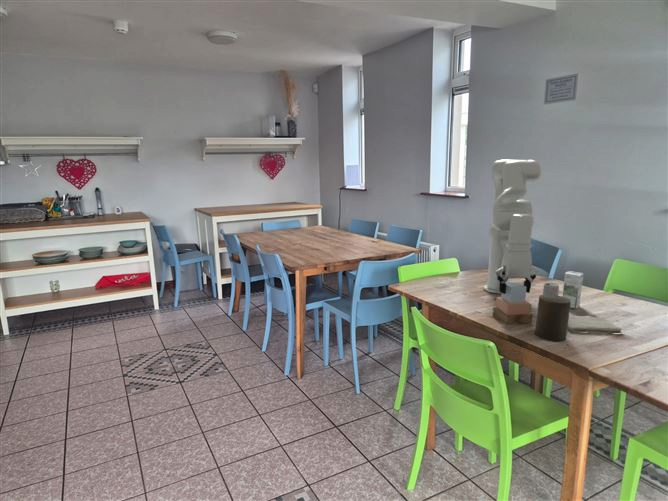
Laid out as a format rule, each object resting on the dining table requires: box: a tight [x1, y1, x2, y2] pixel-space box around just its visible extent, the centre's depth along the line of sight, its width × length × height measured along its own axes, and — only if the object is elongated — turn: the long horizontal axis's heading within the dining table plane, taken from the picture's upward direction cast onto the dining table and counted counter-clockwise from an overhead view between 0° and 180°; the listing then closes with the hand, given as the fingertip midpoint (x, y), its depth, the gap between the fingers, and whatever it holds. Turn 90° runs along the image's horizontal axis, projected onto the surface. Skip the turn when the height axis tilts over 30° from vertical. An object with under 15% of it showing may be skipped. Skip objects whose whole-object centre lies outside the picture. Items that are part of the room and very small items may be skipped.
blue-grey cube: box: [500, 281, 527, 303], centre depth 160 cm, size 6×6×6 cm
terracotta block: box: [495, 296, 532, 315], centre depth 161 cm, size 9×9×4 cm
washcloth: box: [567, 315, 622, 334], centre depth 154 cm, size 12×18×3 cm, turn 86°
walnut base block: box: [492, 306, 533, 326], centre depth 162 cm, size 10×10×4 cm
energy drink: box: [542, 282, 560, 296], centre depth 167 cm, size 5×5×12 cm
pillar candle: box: [534, 293, 571, 343], centre depth 145 cm, size 10×10×15 cm
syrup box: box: [561, 270, 584, 310], centre depth 176 cm, size 6×6×14 cm
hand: (514, 292), depth 160 cm, fingers open, 9 cm apart
